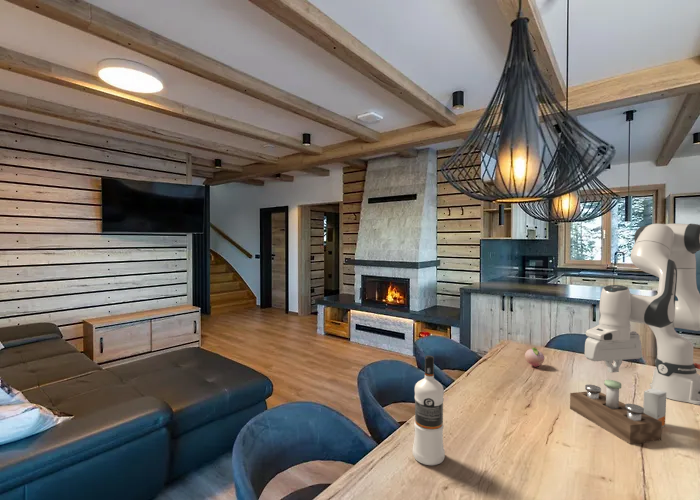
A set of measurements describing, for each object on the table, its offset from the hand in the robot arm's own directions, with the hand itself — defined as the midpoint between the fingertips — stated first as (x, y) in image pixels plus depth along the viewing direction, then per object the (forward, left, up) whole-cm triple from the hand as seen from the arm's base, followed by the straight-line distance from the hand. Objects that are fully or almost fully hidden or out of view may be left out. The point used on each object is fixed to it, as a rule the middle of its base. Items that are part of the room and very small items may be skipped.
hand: (613, 371), depth 125 cm
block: (0, 0, -18) cm, 18 cm away
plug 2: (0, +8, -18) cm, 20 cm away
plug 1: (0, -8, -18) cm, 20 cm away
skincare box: (-13, +4, -18) cm, 23 cm away
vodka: (+71, +7, -18) cm, 74 cm away
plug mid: (0, 0, -13) cm, 13 cm away
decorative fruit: (-11, -54, -18) cm, 58 cm away
